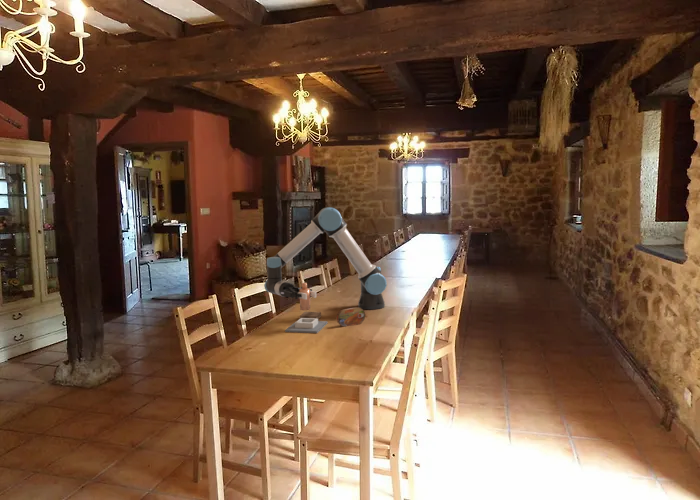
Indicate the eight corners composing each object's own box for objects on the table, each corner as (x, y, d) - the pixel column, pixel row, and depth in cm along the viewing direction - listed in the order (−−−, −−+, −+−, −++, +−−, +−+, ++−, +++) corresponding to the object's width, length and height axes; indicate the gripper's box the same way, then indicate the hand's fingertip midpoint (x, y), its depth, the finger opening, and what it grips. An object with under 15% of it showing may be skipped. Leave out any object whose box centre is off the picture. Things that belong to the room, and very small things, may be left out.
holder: (327, 323, 257) (327, 316, 256) (317, 333, 240) (316, 326, 239) (297, 322, 261) (297, 315, 260) (285, 332, 243) (284, 324, 243)
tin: (338, 327, 248) (338, 310, 247) (336, 326, 251) (335, 309, 250) (365, 323, 255) (365, 306, 254) (362, 321, 258) (362, 305, 257)
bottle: (311, 308, 251) (310, 282, 249) (308, 310, 246) (307, 284, 244) (302, 307, 252) (301, 282, 250) (298, 310, 247) (297, 284, 245)
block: (321, 316, 271) (321, 312, 270) (316, 321, 262) (316, 316, 262) (305, 316, 273) (304, 311, 272) (299, 320, 264) (299, 315, 264)
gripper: (299, 293, 268) (326, 300, 250) (270, 299, 256) (295, 306, 239) (299, 279, 267) (325, 285, 249) (269, 284, 256) (295, 290, 238)
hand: (311, 295), depth 244 cm, fingers closed on bottle, 5 cm apart
